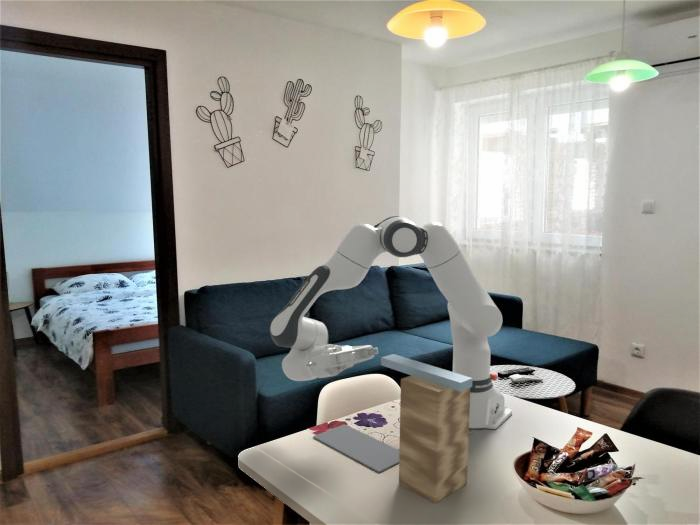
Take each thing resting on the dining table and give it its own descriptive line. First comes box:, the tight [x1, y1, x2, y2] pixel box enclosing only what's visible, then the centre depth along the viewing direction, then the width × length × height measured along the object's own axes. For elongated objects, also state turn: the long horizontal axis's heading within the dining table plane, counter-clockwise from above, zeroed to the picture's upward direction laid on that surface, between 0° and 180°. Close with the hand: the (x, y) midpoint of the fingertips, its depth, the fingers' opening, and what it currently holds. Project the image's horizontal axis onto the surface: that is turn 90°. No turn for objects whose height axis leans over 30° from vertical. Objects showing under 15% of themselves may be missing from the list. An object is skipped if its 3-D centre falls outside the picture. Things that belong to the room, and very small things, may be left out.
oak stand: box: [398, 375, 470, 504], centre depth 127 cm, size 12×11×26 cm
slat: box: [380, 353, 473, 392], centre depth 128 cm, size 4×24×2 cm, turn 43°
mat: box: [312, 423, 399, 474], centre depth 147 cm, size 12×26×1 cm, turn 43°
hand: (366, 353), depth 143 cm, fingers open, 8 cm apart
